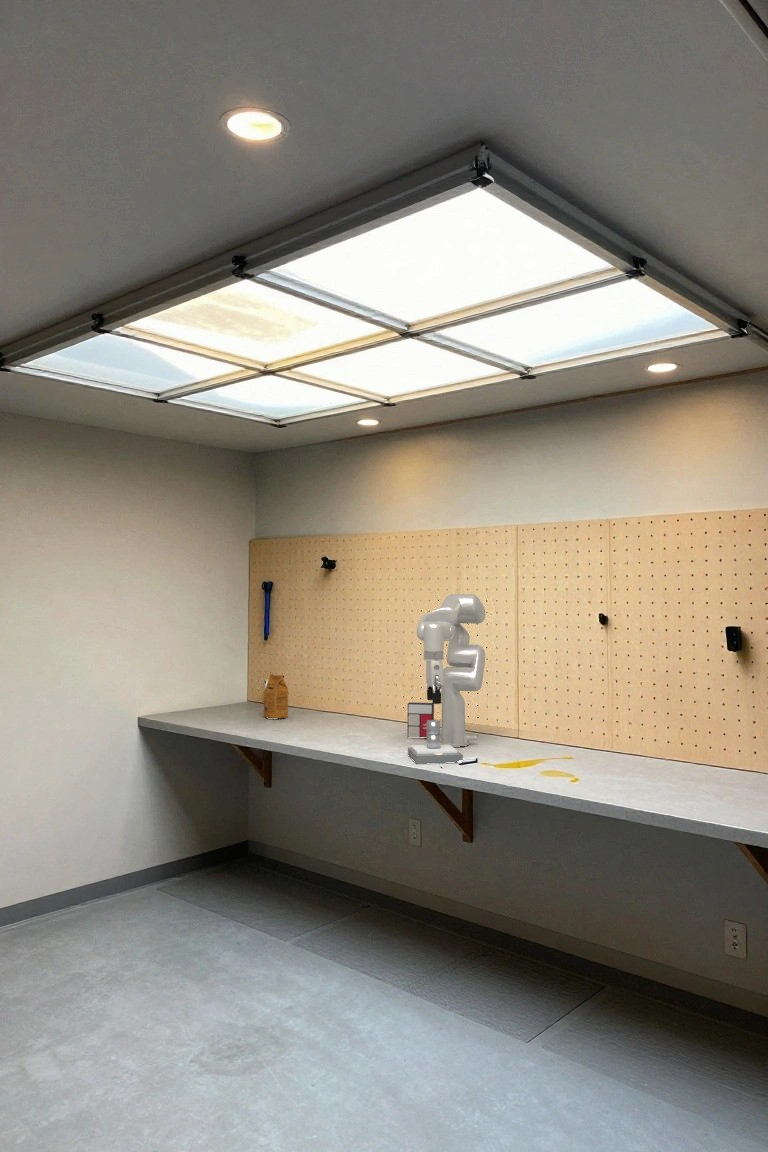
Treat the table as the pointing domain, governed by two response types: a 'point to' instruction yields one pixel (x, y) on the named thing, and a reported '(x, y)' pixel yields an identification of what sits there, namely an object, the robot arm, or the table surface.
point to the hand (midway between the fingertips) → (434, 701)
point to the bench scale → (434, 754)
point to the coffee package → (276, 697)
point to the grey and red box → (419, 718)
